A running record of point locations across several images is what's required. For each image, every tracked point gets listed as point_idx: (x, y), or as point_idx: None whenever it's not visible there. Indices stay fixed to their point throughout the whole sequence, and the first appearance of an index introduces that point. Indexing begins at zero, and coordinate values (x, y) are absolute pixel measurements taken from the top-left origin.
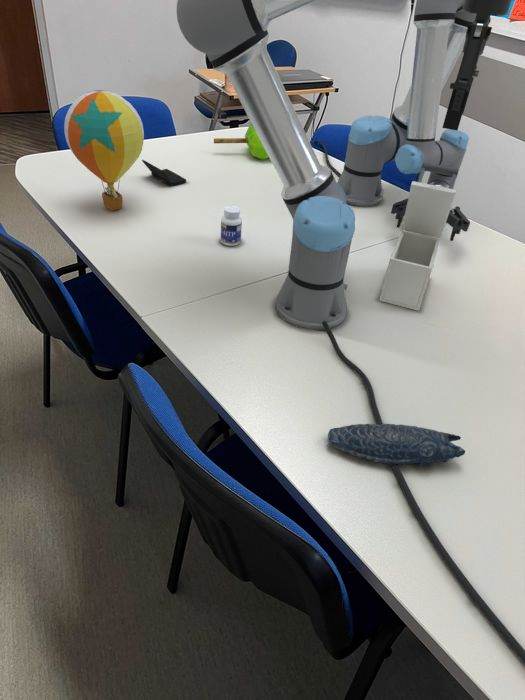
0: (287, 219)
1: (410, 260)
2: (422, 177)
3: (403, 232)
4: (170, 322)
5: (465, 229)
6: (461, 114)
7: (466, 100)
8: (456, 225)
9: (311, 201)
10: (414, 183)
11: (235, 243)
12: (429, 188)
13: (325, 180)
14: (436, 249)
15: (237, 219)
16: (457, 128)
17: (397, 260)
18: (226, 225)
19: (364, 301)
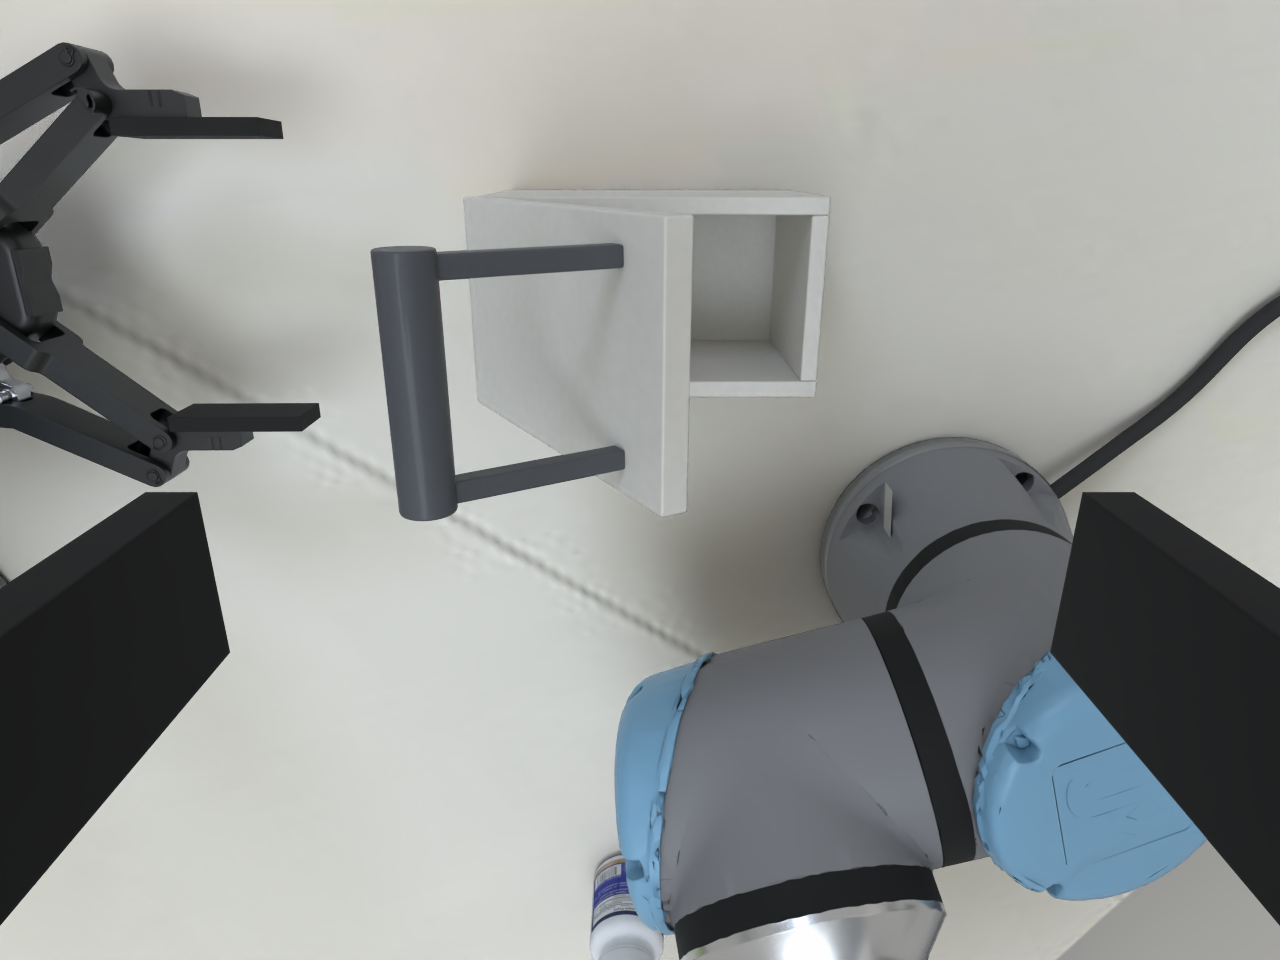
0: (344, 787)
1: None
2: (531, 467)
3: None
4: None
5: (107, 63)
6: (1259, 588)
7: (96, 577)
8: (176, 123)
9: (1070, 873)
10: (678, 498)
11: None
12: (688, 396)
13: (896, 902)
14: (609, 202)
15: (633, 936)
16: (1149, 507)
17: (816, 363)
18: (663, 942)
19: (807, 398)
